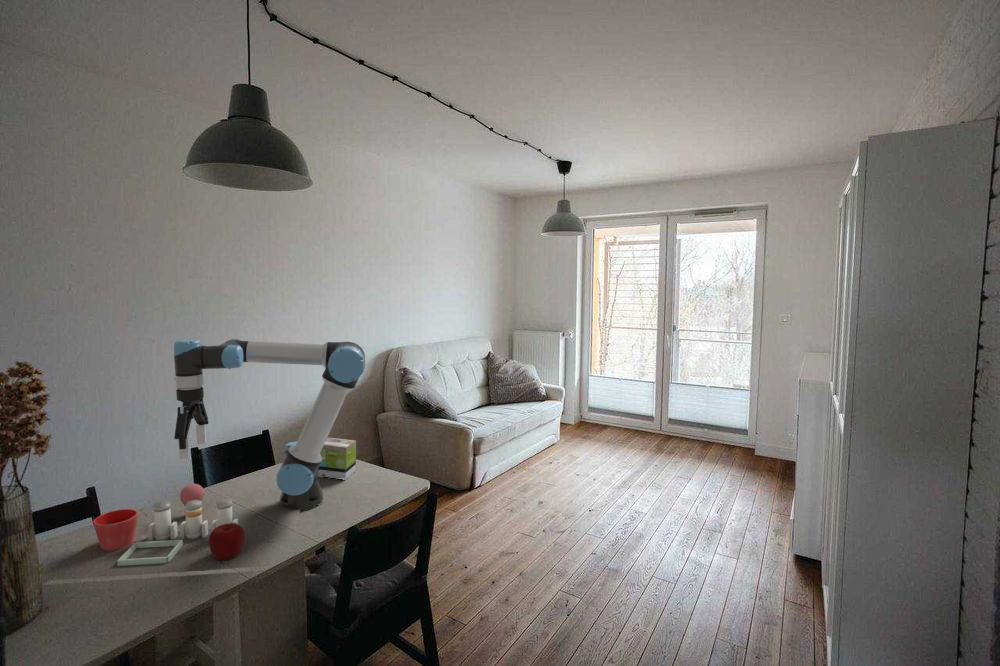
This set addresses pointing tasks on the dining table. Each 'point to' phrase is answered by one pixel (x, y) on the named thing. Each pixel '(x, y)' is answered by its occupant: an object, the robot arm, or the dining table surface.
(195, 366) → the robot arm
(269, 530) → the dining table surface
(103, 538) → the flower pot
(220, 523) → the white rounded cylinder
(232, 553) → the apple
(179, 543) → the tray
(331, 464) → the tea box
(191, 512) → the cylinder
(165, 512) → the fuse
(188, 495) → the light bulb
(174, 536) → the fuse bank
